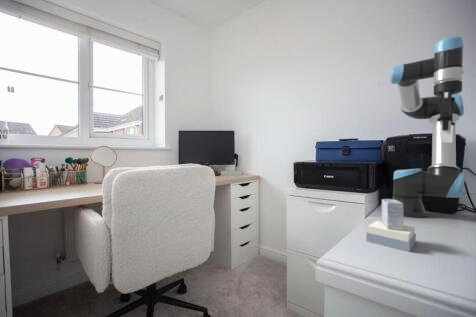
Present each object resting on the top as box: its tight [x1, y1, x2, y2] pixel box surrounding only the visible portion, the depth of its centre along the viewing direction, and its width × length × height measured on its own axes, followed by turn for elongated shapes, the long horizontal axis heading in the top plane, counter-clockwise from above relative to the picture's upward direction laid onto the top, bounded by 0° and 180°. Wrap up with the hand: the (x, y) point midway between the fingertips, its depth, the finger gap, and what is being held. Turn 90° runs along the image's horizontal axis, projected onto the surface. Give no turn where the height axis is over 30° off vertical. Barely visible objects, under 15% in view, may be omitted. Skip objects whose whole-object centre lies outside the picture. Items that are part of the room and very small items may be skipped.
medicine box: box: [381, 198, 404, 231], centre depth 74 cm, size 8×4×9 cm, turn 159°
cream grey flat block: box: [365, 220, 417, 252], centre depth 74 cm, size 12×12×5 cm
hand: (446, 141), depth 80 cm, fingers open, 13 cm apart
